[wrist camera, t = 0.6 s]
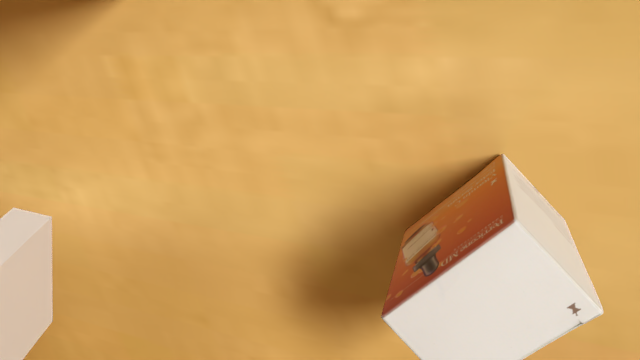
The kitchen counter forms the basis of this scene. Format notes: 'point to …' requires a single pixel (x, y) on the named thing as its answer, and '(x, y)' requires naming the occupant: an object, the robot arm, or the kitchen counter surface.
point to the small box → (489, 274)
